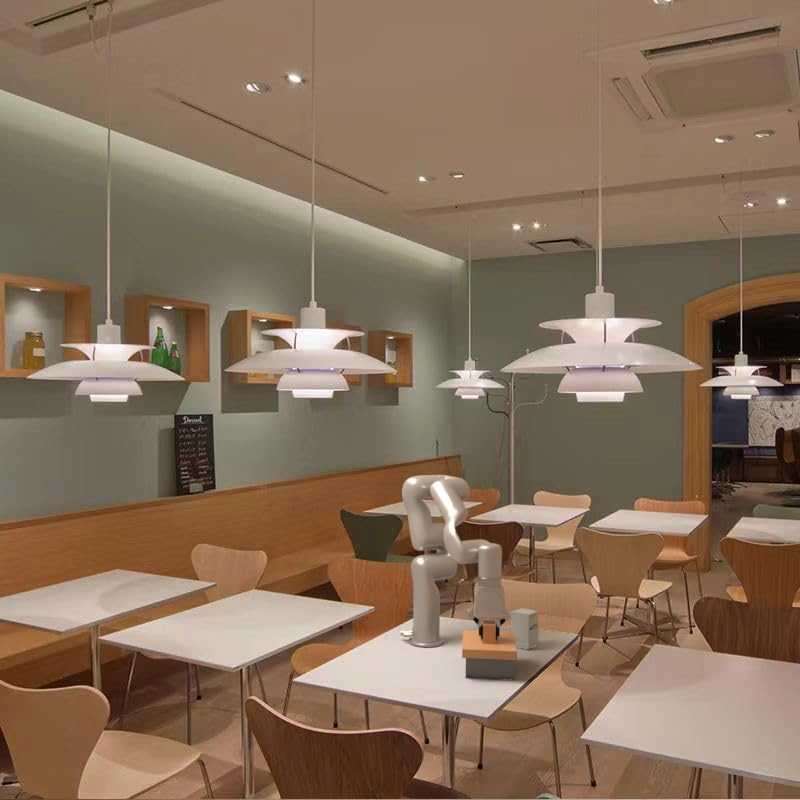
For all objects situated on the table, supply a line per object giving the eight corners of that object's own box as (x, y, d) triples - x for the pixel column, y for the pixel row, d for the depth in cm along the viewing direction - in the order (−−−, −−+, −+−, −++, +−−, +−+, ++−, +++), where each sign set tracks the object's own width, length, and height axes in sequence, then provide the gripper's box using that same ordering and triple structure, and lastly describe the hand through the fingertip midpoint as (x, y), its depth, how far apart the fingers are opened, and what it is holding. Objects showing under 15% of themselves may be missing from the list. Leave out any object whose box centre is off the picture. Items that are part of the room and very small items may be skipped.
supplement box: (528, 650, 289) (528, 614, 289) (510, 646, 294) (510, 611, 294) (538, 645, 295) (538, 610, 295) (520, 642, 300) (520, 607, 300)
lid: (462, 657, 259) (462, 630, 259) (463, 638, 281) (463, 612, 281) (517, 660, 257) (517, 632, 257) (513, 639, 279) (514, 614, 279)
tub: (465, 678, 259) (465, 652, 259) (466, 658, 279) (466, 634, 279) (513, 679, 258) (514, 654, 258) (510, 660, 278) (511, 636, 278)
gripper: (463, 583, 266) (463, 640, 266) (516, 585, 264) (515, 642, 264) (464, 578, 273) (463, 634, 273) (515, 580, 272) (514, 636, 272)
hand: (489, 637), depth 269 cm, fingers closed on lid, 4 cm apart
